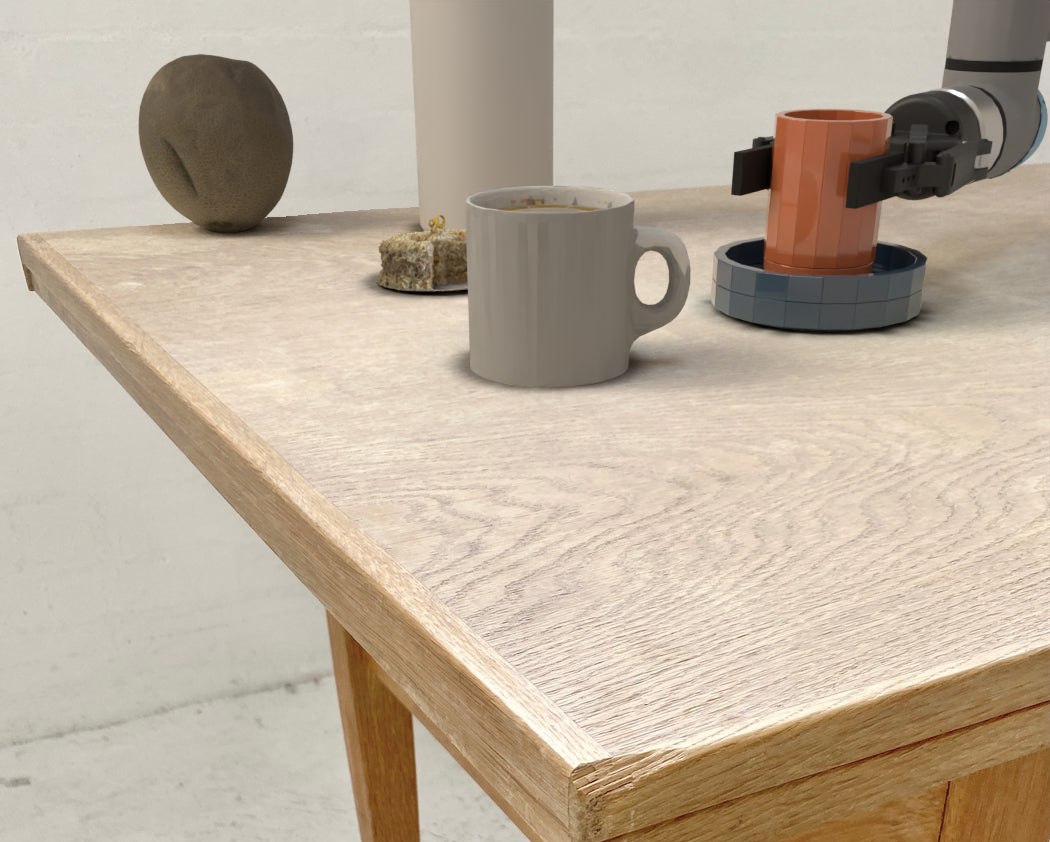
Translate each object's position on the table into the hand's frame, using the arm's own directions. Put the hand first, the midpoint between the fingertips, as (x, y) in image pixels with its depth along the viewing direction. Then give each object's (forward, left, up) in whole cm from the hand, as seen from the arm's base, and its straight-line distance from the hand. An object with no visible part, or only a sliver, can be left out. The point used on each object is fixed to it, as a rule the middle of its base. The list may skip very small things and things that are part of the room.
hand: (794, 179), depth 85 cm
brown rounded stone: (+51, +32, -10) cm, 61 cm away
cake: (+21, +19, -10) cm, 30 cm away
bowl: (+3, -4, -9) cm, 11 cm away
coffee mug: (-5, +17, -10) cm, 20 cm away
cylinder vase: (+42, +9, -10) cm, 44 cm away
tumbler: (+3, -4, -6) cm, 8 cm away
